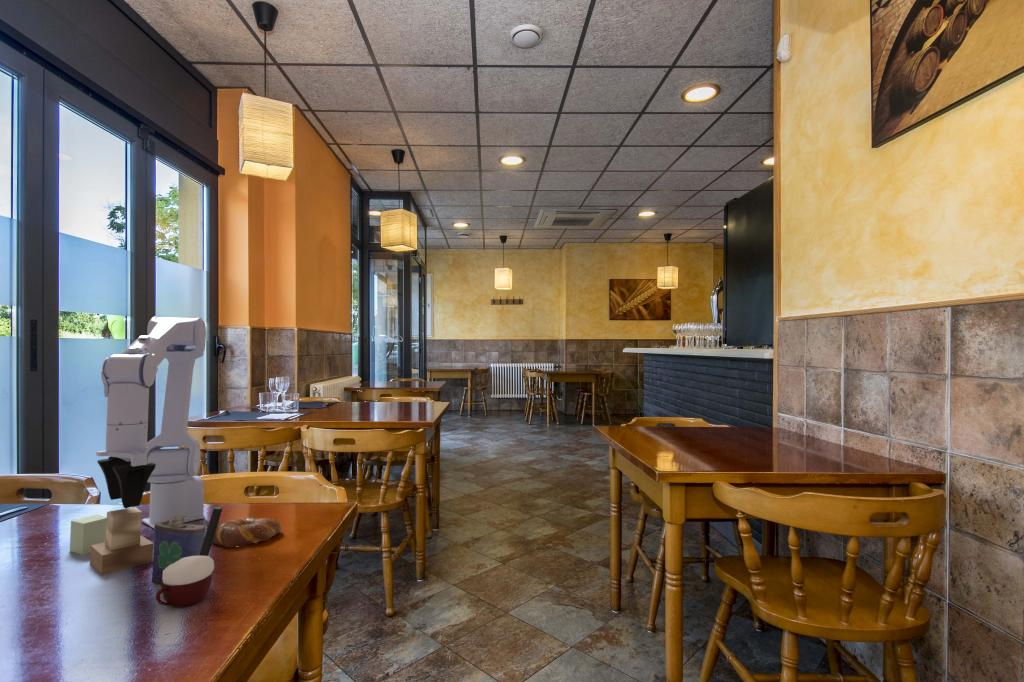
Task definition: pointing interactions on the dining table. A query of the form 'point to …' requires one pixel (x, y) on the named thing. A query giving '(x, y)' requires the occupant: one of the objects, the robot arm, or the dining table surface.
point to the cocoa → (190, 573)
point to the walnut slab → (120, 556)
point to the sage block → (87, 533)
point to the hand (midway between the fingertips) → (124, 502)
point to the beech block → (123, 528)
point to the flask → (175, 543)
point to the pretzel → (245, 531)
